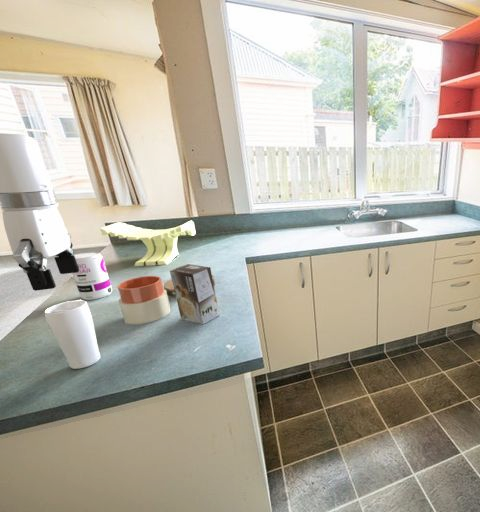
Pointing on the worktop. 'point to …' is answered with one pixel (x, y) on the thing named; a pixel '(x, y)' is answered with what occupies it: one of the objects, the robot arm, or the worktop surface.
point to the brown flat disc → (170, 289)
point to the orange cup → (140, 289)
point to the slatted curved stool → (152, 240)
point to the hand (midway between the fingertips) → (58, 280)
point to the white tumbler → (74, 332)
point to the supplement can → (92, 276)
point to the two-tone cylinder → (145, 310)
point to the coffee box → (195, 293)
